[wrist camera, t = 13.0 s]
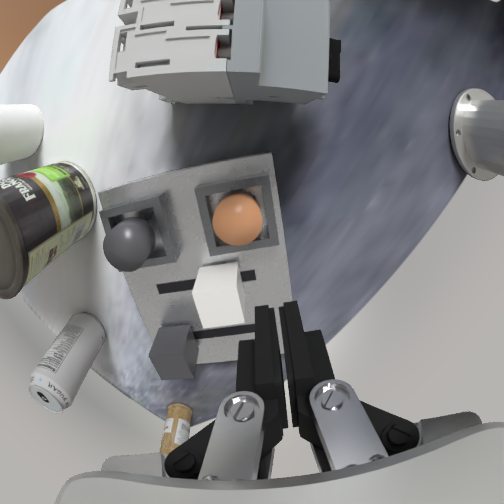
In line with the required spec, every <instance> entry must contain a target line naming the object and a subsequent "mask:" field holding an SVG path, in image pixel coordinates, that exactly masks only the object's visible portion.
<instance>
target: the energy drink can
mask: <svg viewBox="0 0 504 504" xmlns="http://www.w3.org/2000/svg"><path fill="white" fill-rule="evenodd" d="M104 341H105V333H104V328H103V326H102V324H101V322H100V321H99V320H98V319H97V318H96V317H94V316H93V315H91V314H88V313H78V314H75V315H73V316H72V318H71V319H70V320H69V322H68V323H67V324H66V326H65V327H64V328H63V330H62V331H61V332H60V334H59V335H58V336H57V338H56V339H55V341H54V342H53V344H52V345H51V347H50V348H49V349H48V351H47V352H46V353H45V355H44V356H43V358H42V359H41V361H40V362H39V364H38V365H37V367H36V368H35V370H34V371H33V373H32V374H31V386H30V387H29V392H30V394H31V395H32V397H33V398H34V399H35V400H36V401H37V402H38V403H39V404H40V405H41V406H43V407H44V408H46V409H47V410H49V411H51V412H53V413H57V414H60V413H62V412H63V409H66V408H68V407H69V406H71V404H72V402H73V400H74V398H75V396H76V394H77V392H78V390H79V388H80V386H81V384H82V382H83V380H84V378H85V376H86V374H87V372H88V370H89V369H90V367H91V365H92V363H93V361H94V359H95V357H96V355H97V354H98V352H99V350H100V348H101V346H102V345H103V343H104Z"/></svg>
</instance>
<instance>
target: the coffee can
mask: <svg viewBox="0 0 504 504" xmlns="http://www.w3.org/2000/svg"><path fill="white" fill-rule="evenodd" d="M96 211H97V206H96V195H95V191H94V188H93V185H92V183H91V181H90V179H89V177H88V176H87V175H86V174H85V172H84V171H83V170H82V169H81V168H79V167H78V166H77V165H75V164H73V163H70V162H65V161H61V162H56V163H54V164H51V165H48V166H44V167H41V168H37V169H34V170H30V171H27V172H24V173H21V174H18V175H14V176H11V177H8V178H5V179H2V180H0V298H2V299H10V298H13V297H15V296H16V295H17V294H18V293H19V292H20V291H21V289H22V288H23V286H24V285H26V284H27V283H28V282H29V281H30V280H31V279H32V278H33V277H34V276H36V275H37V274H38V273H39V272H40V271H41V270H42V269H44V268H45V267H46V266H47V265H48V264H50V263H51V262H52V261H53V260H54V259H56V258H57V257H58V256H59V255H60V254H62V253H63V252H64V251H65V250H67V249H68V248H69V247H70V246H72V245H73V244H74V243H76V242H77V241H78V240H80V239H82V238H83V237H85V236H86V235H87V233H88V232H89V231H90V229H91V228H92V226H93V223H94V221H95V217H96Z"/></svg>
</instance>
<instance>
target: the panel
mask: <svg viewBox="0 0 504 504" xmlns="http://www.w3.org/2000/svg"><path fill="white" fill-rule="evenodd" d="M234 191H242V192H246V193H248V194H250V195H252V196H253V197H254V198H255V199H256V200H257V202H258V203H259V206H260V210H261V215H262V229H261V231H260V233H259V235H258V236H257V237H256V239H254V240H253V241H252V242H250V243H248V244H245V245H241V246H235V245H230V244H227V243H225V242H224V241H222V240H221V239H220V238H219V237H218V236H217V234H216V233H215V231H214V228H213V216H214V213H215V210H216V208H217V205H218V203H219V201H220V200H221V198H223V197H224V196H225V195H226V194H228V193H231V192H234ZM98 194H99V198H100V202H101V205H102V209H103V210H101V211H100V212H99V213H100V217H101V220H102V223H103V226H104V230H105V233H106V235H107V233H108V232H109V231H110V230H112V229H113V228H114V227H115V226H116V225H118V224H119V223H120V222H121V221H123V220H124V219H126V218H129V217H138V218H141V219H143V220H145V221H146V222H148V223H149V224H150V226H151V227H152V228H153V230H154V233H155V237H156V243H155V247H154V249H153V251H152V252H151V254H150V255H149V256H148V258H147V259H146V261H145V262H144V263H143V265H142V266H141V267H140V268H139V269H137V270H135V271H132V272H124V271H123V272H124V275H125V278H126V280H127V283H128V286H129V288H130V291H131V293H132V296H133V298H134V300H135V303H136V305H137V308H138V310H139V312H140V315H141V317H142V319H143V322H144V324H145V326H146V328H147V330H148V333H149V335H150V337H151V339H152V341H153V342H154V339H155V337H156V334H157V332H158V329H159V328H161V327H171V326H181V325H190V326H191V329H192V332H193V334H194V337H195V340H196V342H197V345H198V348H199V353H198V358H197V364H203V363H214V362H224V361H234V360H238V345H239V341H240V340H250V339H255V306H262V305H268V306H269V308H274V311H275V318H276V325H277V332H278V339H279V346H280V354H284V347H283V339H282V331H281V323H280V316H279V308H278V307H281V306H283V303H284V302H290V301H292V294H291V285H290V277H289V269H288V261H287V254H286V246H285V239H284V231H283V224H282V217H281V210H280V203H279V197H278V190H277V183H276V177H275V170H274V164H273V158H272V153H271V152H264V153H258V154H252V155H246V156H240V157H235V158H229V159H224V160H219V161H214V162H209V163H204V164H199V165H195V166H190V167H186V168H181V169H177V170H173V171H169V172H165V173H161V174H157V175H153V176H149V177H145V178H141V179H138V180H134V181H130V182H127V183H123V184H120V185H117V186H113V187H110V188H107V189H105V190H103V191H101V192H99V193H98ZM232 262H238V265H239V270H240V274H241V279H242V284H243V288H244V293H245V323H242V324H234V325H227V326H219V327H211V328H203V326H202V323H201V320H200V317H199V314H198V311H197V308H196V305H195V302H194V299H193V295H192V291H193V287H194V284H195V281H196V278H197V274H198V271H199V268H201V267H207V266H213V265H219V264H225V263H232ZM119 272H121V271H120V270H119Z"/></svg>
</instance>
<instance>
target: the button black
mask: <svg viewBox="0 0 504 504" xmlns="http://www.w3.org/2000/svg"><path fill="white" fill-rule="evenodd" d="M155 243H156V237H155V233H154V230H153V228H152V227H151V226H150V224H149V223H148V222H146V221H145V220H143V219H141V218H138V217H129V218H126V219H124V220H123V221H121V222H120V223H119V224H118V225H116V226H115V227H114V228H113V229H112V230H110V231H109V232H108V233H107V235H106V236H105V238H104V242H103V250H104V254H105V256H106V258H107V260H108V261H109V263H110V264H111V265H112V266H114V267H115V268H116V269H118V270H120V271H124V272H132V271H135V270H137V269H139V268H140V267H141V266H142V265H143V263H144V262H145V261H146V259H147V258H148V256H149V255H150V254H151V252H152V251H153V249H154V247H155Z"/></svg>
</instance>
